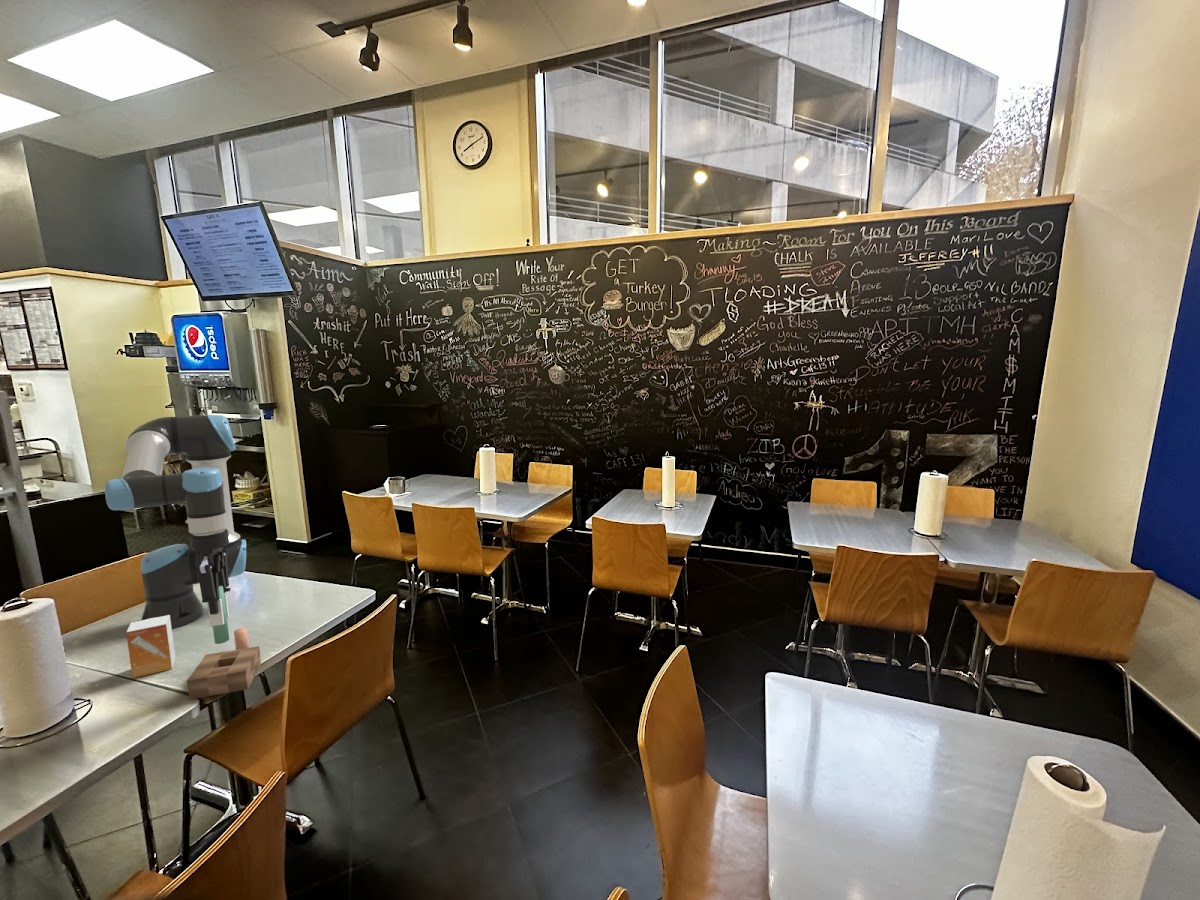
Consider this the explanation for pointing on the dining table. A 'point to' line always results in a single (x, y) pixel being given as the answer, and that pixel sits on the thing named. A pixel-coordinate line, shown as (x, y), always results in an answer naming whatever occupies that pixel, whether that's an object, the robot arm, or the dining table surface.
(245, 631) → the short dowel
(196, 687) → the collar block
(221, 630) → the long dowel
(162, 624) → the small box
